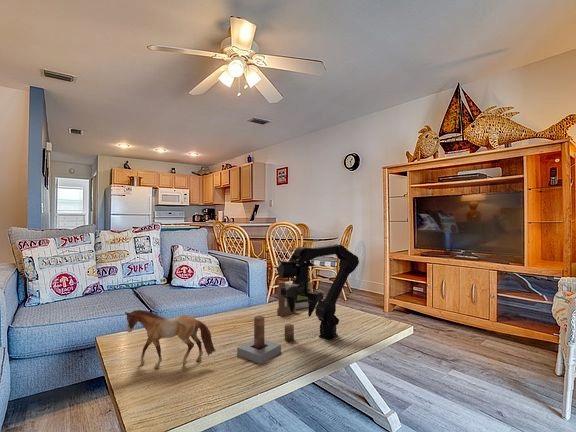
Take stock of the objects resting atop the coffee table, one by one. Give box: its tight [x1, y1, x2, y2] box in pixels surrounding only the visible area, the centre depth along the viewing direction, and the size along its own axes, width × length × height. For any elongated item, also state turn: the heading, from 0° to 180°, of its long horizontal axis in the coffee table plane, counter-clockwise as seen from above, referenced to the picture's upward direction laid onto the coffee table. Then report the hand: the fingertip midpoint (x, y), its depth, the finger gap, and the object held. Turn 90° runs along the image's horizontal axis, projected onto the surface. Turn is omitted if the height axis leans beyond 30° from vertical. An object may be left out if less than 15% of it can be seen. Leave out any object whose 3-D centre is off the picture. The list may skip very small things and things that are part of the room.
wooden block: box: [276, 281, 296, 317], centre depth 168 cm, size 4×11×18 cm, turn 135°
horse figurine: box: [124, 309, 217, 369], centre depth 109 cm, size 31×8×21 cm, turn 96°
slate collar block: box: [236, 339, 282, 365], centre depth 118 cm, size 12×12×3 cm
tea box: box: [284, 280, 313, 310], centre depth 182 cm, size 15×10×15 cm, turn 115°
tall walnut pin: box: [253, 315, 265, 350], centre depth 118 cm, size 4×4×14 cm
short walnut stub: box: [284, 323, 295, 342], centre depth 132 cm, size 4×4×6 cm
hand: (300, 314), depth 129 cm, fingers open, 9 cm apart
